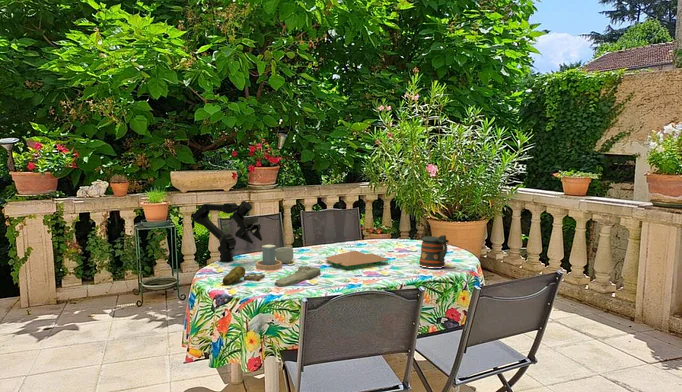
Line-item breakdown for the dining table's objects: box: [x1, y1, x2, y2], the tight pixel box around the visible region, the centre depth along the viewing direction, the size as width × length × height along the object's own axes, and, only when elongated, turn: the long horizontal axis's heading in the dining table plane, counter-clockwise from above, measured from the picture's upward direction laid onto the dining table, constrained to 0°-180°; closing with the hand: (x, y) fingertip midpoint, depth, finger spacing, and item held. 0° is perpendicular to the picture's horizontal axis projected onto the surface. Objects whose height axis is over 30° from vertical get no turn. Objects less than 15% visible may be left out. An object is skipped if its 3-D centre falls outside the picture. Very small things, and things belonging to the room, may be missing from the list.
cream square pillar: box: [261, 244, 276, 266], centre depth 277 cm, size 5×5×13 cm
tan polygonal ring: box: [255, 259, 283, 271], centre depth 278 cm, size 14×14×3 cm
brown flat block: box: [324, 250, 390, 271], centre depth 290 cm, size 23×33×8 cm
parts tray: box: [243, 272, 266, 282], centre depth 254 cm, size 8×8×2 cm
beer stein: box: [418, 234, 449, 267], centre depth 284 cm, size 19×15×20 cm
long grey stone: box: [274, 265, 321, 288], centre depth 256 cm, size 35×5×10 cm
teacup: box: [275, 246, 294, 264], centre depth 293 cm, size 14×11×8 cm
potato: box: [222, 265, 247, 286], centre depth 247 cm, size 8×13×8 cm, turn 127°
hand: (257, 241), depth 282 cm, fingers open, 9 cm apart
